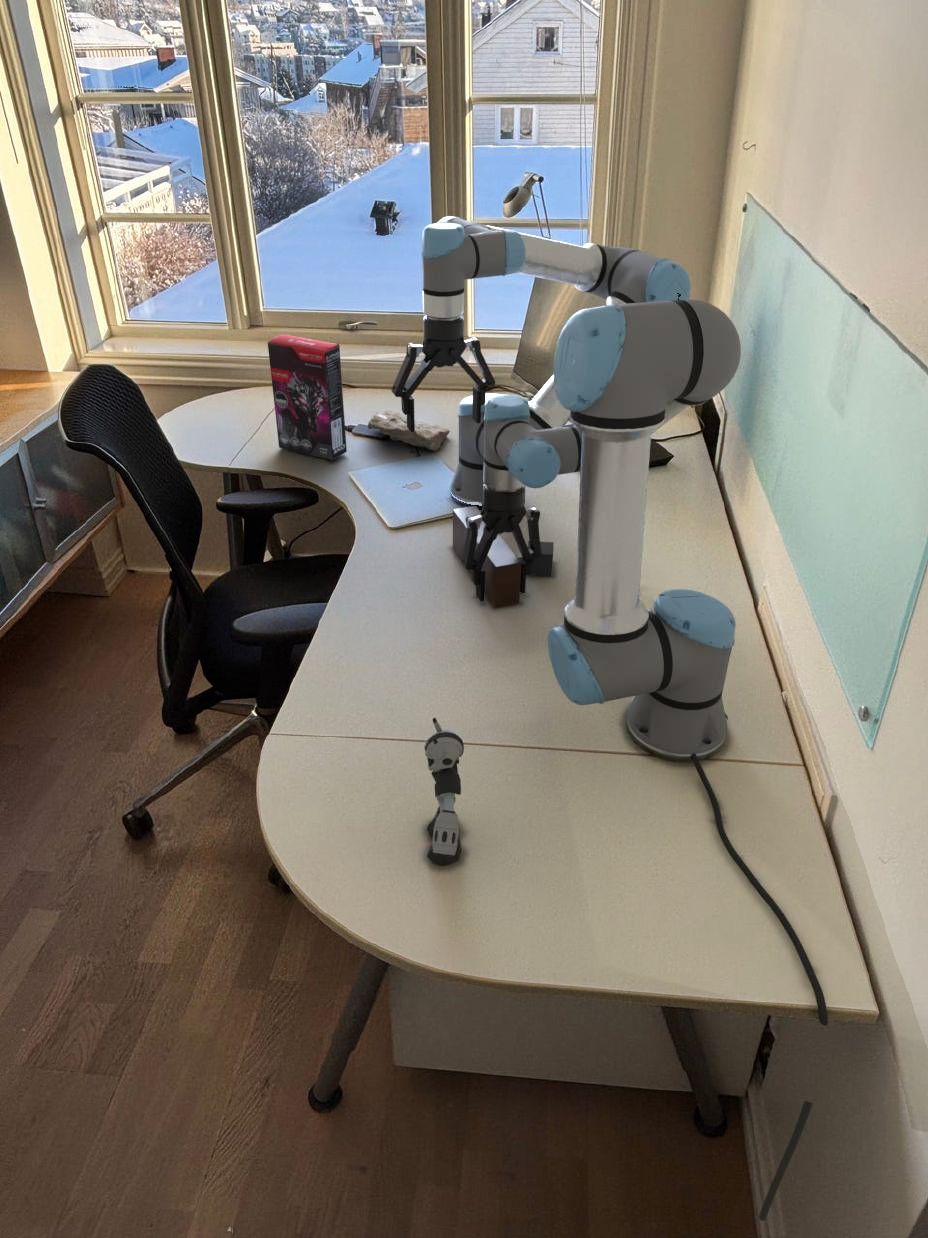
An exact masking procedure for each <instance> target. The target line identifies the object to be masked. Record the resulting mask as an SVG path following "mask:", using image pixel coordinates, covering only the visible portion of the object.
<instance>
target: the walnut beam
mask: <svg viewBox="0 0 928 1238" xmlns="http://www.w3.org/2000/svg"><path fill="white" fill-rule="evenodd" d="M480 513H481V509H478V508H477V507H476V506H471V507H467V506H464V507H458V508H453V509H452V550H453V551H454V552H455V554H456V555H457V557H458V558H459V560H460V561H461V562H462V556H463V550H464V544H465V538H466V532H467V524H466V517H467V516H471V517H475V516H478V515H480ZM484 527H485V523H484V522H481V524H480V529H478V537H477V543H476V548H475V551H476V549H477V547H478V544H479V542H480V540H481V537H482V535H483V529H484ZM482 568H483V569H484V570H485V598H487V600H488V601H489V602H490V604H491V605H492V607H493V608H494V609H500V608H505V607H510V606H514V605H519V604H520V601H521V600H520V599H521V593H520V582H521V561H520V560H519V559H518V556H517V555H516V553H514V551H513V550H512V548H511V547H510V546H509V545H508V544H507V542H506V541H505V540H504V539H503V538H502V536H501V534H498V535H497V538H496V539H495V540H494V541H493V543H492V545H491V548H490V550H489V552H488V555H487V557H486V559H485V562H484V564H483V566H482ZM467 571H468V572H469V574H470V575H471V576H472V570H467Z"/></svg>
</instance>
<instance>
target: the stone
mask: <svg viewBox="0 0 928 1238" xmlns="http://www.w3.org/2000/svg"><path fill="white" fill-rule="evenodd" d="M367 429H369V430H378V431H380V433H381V434H383V435H386V436H389V437H390V440H392V441H401V442H403V443H405V444H409V445H411V446H414V447H419V448H422V447H423V448H425V449H428V450H430V451H437V450H439V448H440V447H441V444H442V443H443V441H444V440H445V439H446V438H448V435H449V434H450V431H451V430H450V429H449V428H447V427H444V426H441V425H438V424H429V423H425V422H419V421H415V432H411V431H410V430H409V429H408V428H407V416H406V415H403V414H401V413H400V412H397V411H393V410H384V411H376V412H375V413H374V414H373V415H372V416H371V417H370V419H369V421H368V422H367Z"/></svg>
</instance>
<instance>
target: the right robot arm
mask: <svg viewBox="0 0 928 1238" xmlns="http://www.w3.org/2000/svg"><path fill="white" fill-rule="evenodd" d="M555 346H556V347H555V351H554V358H553V374H554V382H555V383H556V388H555V390H556V394H557V397H558V400H559V402H560V403H561V405H562V406H563V407H564V408H565V409H567V410H570V411H571V412H570V421H571V422H572V423H573V424H574V425H569V426H564V427H560V428H551V429H543V430H536V429H535V428H534V427H533V426H532V425H531V424H530V423H529V417H530V411H529V403H528V399H526V398H524V397H522V396H519V395H516V394H504V395H498V396H495V397H492V398H490V399H489V400H488V401H487V403H486V405H485V416H484V420H483V421H484V469H483V482H484V485H483V509H481V510H480V512H481V513H480V515H478V516H475V517H471V516H467V517H466V524H467V532H466V538H465V544H464V550H463V556H462V561H461V564H462V565H463V566H464V568H465V569H466V570H467V571H468V570H472V575H471V576H470V577H471V579H470V580H471V582H472V583H473V585H474V586H475V595H476V597H477V599H478V600H479V602H482V603H483V602H485V600H486V599H485V598H486V595H485V570H484V569H483V568H482V566H483V564H484V562H485V559H486V557H487V555H488V552H489V550H490V548H491V545H492V543H493V541H494V540H495V539H496V538H497V535H498V534H499V535H501V534H504V533H511V534H512V537H513V539H514V541H515V543H516V545H517V548H518V550H519V553H520V555H521V556H517V558H518V559H519V560H520V561H521V582H520V595H524V594H526V585H527V577H529V576H531V575H530V572H531V571H530V570H531V564H533V563H534V560H533V559H534V558H539V557H541V546H540V541H541V536H540V527H539V521H540V518H541V511H540V510H539V509H538V508H537V507H536V506H535V505H530V506H529V507H526V506H525V503H526V487H527V488H531V489H541V488H544V487H545V486H547V485H549V484H550V483H552V482H553V481H555V479H556V478H557V476H558V475H559V476H560V475H566V474H567V475H568V474H574V473H580V474H579V475H580V476H579V499H578V500H579V502H578V526H577V527H578V528H577V529H578V530H577V550H576V551H577V553H576V580H575V581H576V582H575V597H574V598H573V599H571V601H569V602H567V604H566V605H565V607H564V611H563V625H558V624H556V625H555V626H554V627H552V628H551V629H550V630H549V632H548V634H547V650H548V657H549V661H550V664H551V667H552V671H553V674H554V677H555V679H556V682H557V684H558V685H559V687H560V690H561V691H562V693H563V694H564V696H565V697H566V698H567V699H568V700H569V701H570V702H571V703H573V704H574V705H576V706H587V705H595V704H599V705H603V704H605V703H606V702H607V703H608V702H611V701H616V700H617V701H618V700H621V699H626V698H630V697H631V698H632V697H633V699H632V701H631V702H630V704H629V706H628V708H627V711H626V719H625V728H626V732H627V734H628V736H629V738H630V739H631V741H632V742H634V744H636V745H637V746H638V747H639V748H640V749H641V750H643V751H645V752H646V753H648V754H650V755H651V756H654V757H656V758H659V759H662V760H666V761H670V762H675V763H692V764H693V765H694V768H695V770H696V772H697V774H698V777H699V778H700V781H701V783H702V785H703V788H704V789H705V791H706V793H707V796H708V798H709V801H710V803H711V807H712V811H713V816H714V821H715V825H716V830H717V833H718V835H719V838H720V840H721V842H722V844H723V845H724V847H725V849H726V850H727V853H728V854H729V855H730V857H731V858H732V860H733V861H734V863H735V864H736V865H737V866H738V868H739V869H740V871H741V872H742V873H743V875H744V876H745V877H746V879H747V880H748V881H749V883H750V884H751V885H752V887H753V888H754V890H755V891H756V892H757V893H758V894H759V896H760V897H761V898H762V899H763V900H764V902H765V903H766V904H767V905H768V907H769V908H770V910H771V911H772V912H773V913H774V915H775V916H776V917H777V919H778V921H779V922H780V924H781V926H782V927H783V929H784V930H785V932H786V934H787V935H788V937H789V939H790V940H791V943H792V944H793V946H794V948H795V951H796V952H797V954H798V957H799V959H800V961H801V964H802V966H803V969H804V971H805V973H806V976H807V978H808V980H809V983H810V985H811V987H812V990H813V994H814V997H815V1001H816V1006H817V1012H818V1013H817V1014H818V1021H819V1023H820V1025H822V1026H825V1027H826V1026H828V1025H829V1018H828V1010H827V1004H826V999H825V996H824V992H823V990H822V986H821V984H820V982H819V979H818V977H817V974H816V972H815V970H814V968H813V965H812V963H811V961H810V959H809V957H808V954H807V951H806V949H805V948H804V946H803V944H802V942H801V940H800V938H799V937H798V935H797V932H796V931H795V929H794V928H793V925H792V924H791V923H790V921H789V920H788V918H787V916H786V915H785V914H784V912H783V911H782V909H781V908H780V907H779V905H778V904H777V902H776V901H775V900H774V899H773V898H772V896H771V895H770V894H769V892H768V891H767V890H766V889H765V887H763V885H762V884H761V883H760V882H759V880H758V879H757V878H756V876H755V874H754V873H753V872H752V871H751V869H750V868H749V867H748V866H747V864H746V863H745V861H743V859H742V857H741V856H740V855H739V854H738V852H737V851H736V849H735V848H734V846H733V844H732V843H731V841H730V839H729V837H728V834H727V832H726V830H725V827H724V822H723V818H722V812H721V808H720V805H719V802H718V798H717V796H716V794H715V791H714V789H713V787H712V786H711V783H710V781H709V779H708V776H707V775H706V772H705V770H704V768H703V766H702V764H701V762H700V761H703V760H706V759H709V758H711V757H714V755H716V754H718V752H720V751H721V750H722V748H723V747H724V744H725V743H726V740H727V739H726V738H727V734H728V721H729V717H728V715H727V713H726V712H725V708H724V707H725V706H724V701H723V692H724V686H725V682H726V678H727V672H728V668H729V663H730V658H731V654H732V651H733V650H732V649H733V647H734V645H735V642H736V641H735V635H736V617H735V616H734V614H733V612H732V611H731V609H730V608H729V607H728V606H727V605H726V604H725V603H723V602H722V601H720V600H719V599H717V598H715V597H713V596H711V595H709V594H706V593H703V592H701V591H697V590H692V589H683V588H675V589H674V588H673V589H667V590H665V591H663V592H661V593H660V594H659V595H658V596H657V597H656V599H655V600H654V602H653V609H650V610H648V609H647V607H646V606H645V605H644V604H643V603H642V602H641V601H640V590H641V577H642V565H643V549H644V539H645V538H644V536H645V523H646V521H645V520H646V509H647V508H646V507H647V495H648V483H649V468H650V456H651V454H650V453H651V443H652V435H653V434H654V433H655V432H657V431H658V430H659V429H661V428H662V427H663V426H664V425H666V424H667V423H669V422H670V421H671V420H673V419H674V418H675V417H677V416H678V415H679V414H680V413H681V412H683V411H684V410H686V409H687V408H688V407H695V406H700V405H701V406H702V405H704V404H706V403H707V402H709V401H710V400H711V399H714V397H716V396H717V395H718V394H720V393H721V392H722V391H724V390H725V388H726V387H727V386H728V385H729V384H730V383H731V381H732V380H733V379H734V378H735V375H736V373H737V371H738V368H739V366H740V361H741V357H742V346H741V340H740V335H739V332H738V329H737V328H736V325H735V324H734V323H733V321H732V320H731V319H730V317H729V316H728V314H726V313H725V312H724V311H723V310H721V309H720V308H719V307H717V306H715V305H713V304H712V303H710V302H708V301H703V300H700V299H695V298H694V299H693V298H690V299H680V300H674V301H660V302H644V303H629V304H607V303H606V304H604V305H602V306H601V305H600V306H594V307H589V308H583V309H580V310H578V311H577V312H575V313H574V314H572V316H570V317H569V319H568V320H567V321H566V323H565V325H564V326H563V327H562V330H561V331H560V334H559V336H558V339H557V343H556V345H555ZM524 518H526V522H527V533H528V541H529V542H530V550H529V549H528V543H527V542H526V540H525V537H524V535H523V531H522V529H521V526H520V524H521V522H522V521H523V519H524ZM481 522H484V523H485V527H484V529H483V535H482V537H481V540H480V542H479V544H478V547H477V549H476V551H475V548H476V543H477V537H478V529H480V524H481ZM812 1106H813V1102H811V1101H806V1100H803V1103H802V1107H801V1111H800V1113H799V1116H798V1119H797V1121H796V1125H795V1127H794V1129H793V1132H792V1135H791V1137H790V1139H789V1142H788V1144H787V1147H786V1149H785V1150H784V1151H785V1152H784V1154H783V1156H782V1158H781V1160H780V1162H779V1165H778V1167H777V1169H776V1172H775V1174H774V1176H773V1179H772V1181H771V1184H770V1186H769V1189H768V1191H767V1193H766V1195H765V1196H766V1197H765V1199H764V1201H763V1204H762V1206H761V1209H760V1212H759V1215H758V1219H759V1220H760V1221H761V1222H765V1221H766V1220H767V1217H768V1214H769V1212H770V1209H771V1206H772V1204H773V1202H774V1199H775V1197H776V1194H777V1193H778V1190H779V1187H780V1185H781V1183H782V1181H783V1179H784V1176H785V1174H786V1172H787V1169H788V1167H789V1164H790V1162H791V1160H792V1158H793V1156H794V1153H795V1151H796V1149H797V1147H798V1144H799V1142H800V1139H801V1137H802V1135H803V1131H804V1129H805V1127H806V1124H807V1121H808V1118H809V1116H810V1112H811V1110H812V1108H813V1107H812Z"/></svg>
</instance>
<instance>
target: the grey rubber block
mask: <svg viewBox="0 0 928 1238" xmlns="http://www.w3.org/2000/svg"><path fill="white" fill-rule="evenodd" d="M540 546H541V557H539V558H534V559H533V560H534V563H533V564H531V570H530V571H531V572H530V575H529V576H535V577H552V576H553V564H554V546H555V545H554V541H541V540H540ZM527 547H528V549H529V550H530V542H529V540H528V541H527Z"/></svg>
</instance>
